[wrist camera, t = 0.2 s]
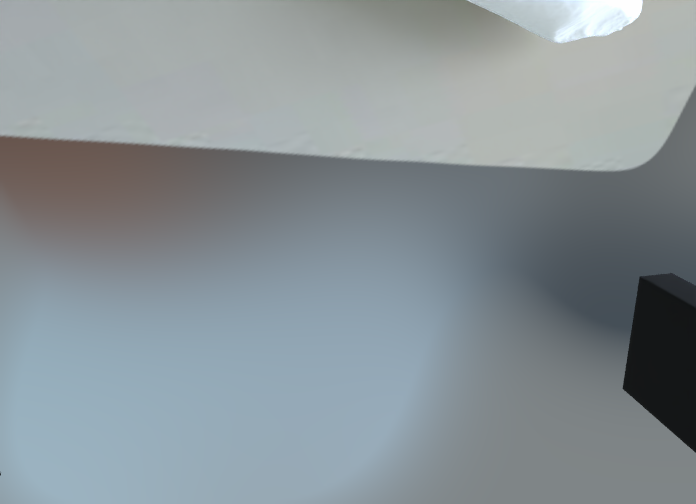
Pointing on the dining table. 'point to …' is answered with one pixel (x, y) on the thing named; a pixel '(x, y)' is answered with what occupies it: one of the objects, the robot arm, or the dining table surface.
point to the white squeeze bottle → (566, 16)
